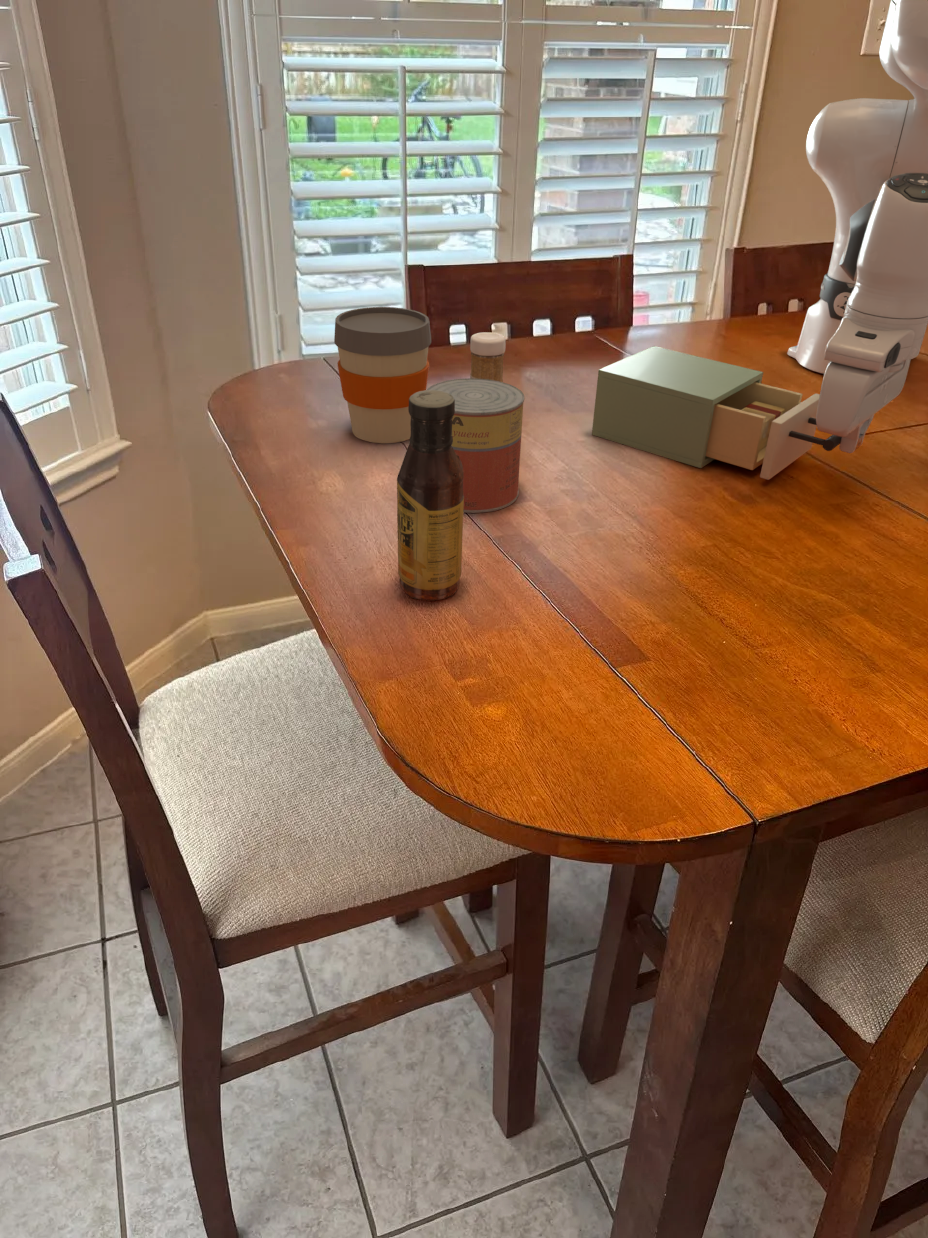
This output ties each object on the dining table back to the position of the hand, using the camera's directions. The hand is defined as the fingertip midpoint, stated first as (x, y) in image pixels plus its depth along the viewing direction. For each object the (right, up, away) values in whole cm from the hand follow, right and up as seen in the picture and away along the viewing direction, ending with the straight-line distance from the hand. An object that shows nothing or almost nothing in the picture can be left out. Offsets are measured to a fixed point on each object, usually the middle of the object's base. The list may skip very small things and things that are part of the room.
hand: (849, 448), depth 111 cm
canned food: (-46, -6, -1) cm, 46 cm away
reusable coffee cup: (-58, +5, +14) cm, 60 cm away
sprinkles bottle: (-44, +4, +14) cm, 46 cm away
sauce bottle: (-50, -18, -20) cm, 57 cm away
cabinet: (-18, +5, +15) cm, 24 cm away
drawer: (-9, +1, +8) cm, 12 cm away
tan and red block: (-10, +2, +8) cm, 13 cm away
